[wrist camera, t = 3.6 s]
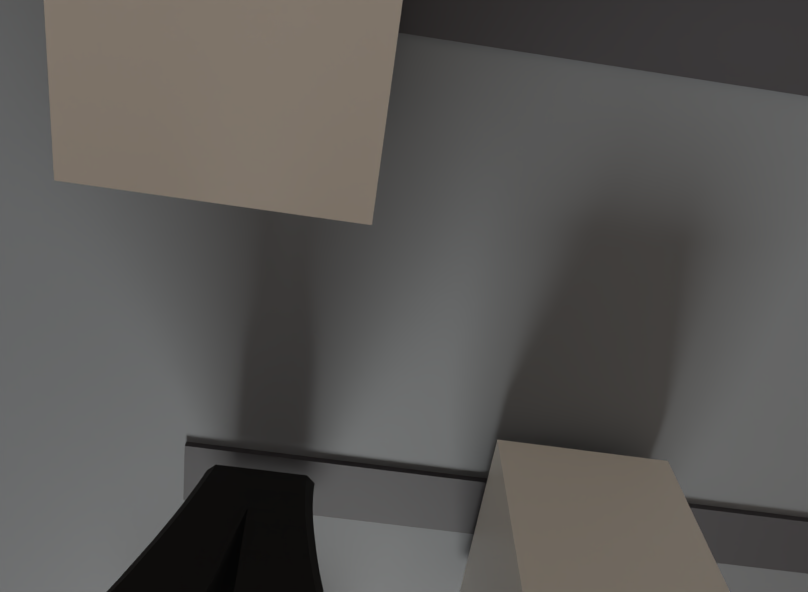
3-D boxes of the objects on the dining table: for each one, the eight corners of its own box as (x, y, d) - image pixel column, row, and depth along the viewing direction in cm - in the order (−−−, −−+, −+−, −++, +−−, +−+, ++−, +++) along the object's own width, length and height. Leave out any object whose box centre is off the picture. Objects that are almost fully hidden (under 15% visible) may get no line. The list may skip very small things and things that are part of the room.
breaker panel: (3, 813, 17) (-23, 869, 16) (-198, -595, 7) (-299, -679, 6) (753, 884, 18) (773, 941, 17) (1480, -268, 8) (1631, -296, 7)
